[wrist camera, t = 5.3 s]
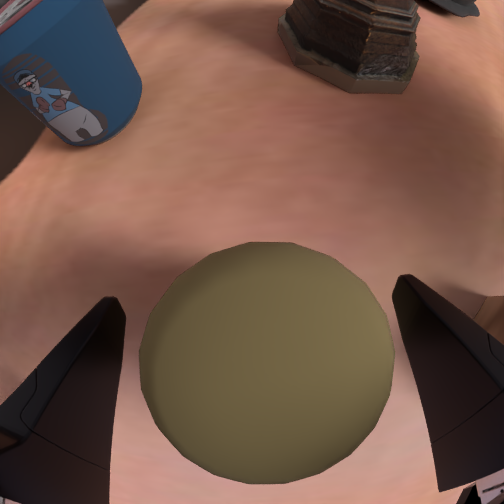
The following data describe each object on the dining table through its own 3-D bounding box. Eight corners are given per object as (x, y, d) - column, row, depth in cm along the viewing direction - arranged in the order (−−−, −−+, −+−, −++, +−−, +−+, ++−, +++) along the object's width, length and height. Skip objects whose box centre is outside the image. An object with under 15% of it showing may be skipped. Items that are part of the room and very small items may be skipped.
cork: (211, 381, 14) (142, 521, 3) (194, 272, 15) (71, 228, 4) (321, 365, 14) (431, 477, 3) (306, 257, 15) (418, 181, 4)
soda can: (124, 65, 17) (68, -43, 5) (165, 106, 17) (101, -41, 5) (57, 120, 17) (-28, 34, 5) (85, 173, 16) (-38, 73, 4)
